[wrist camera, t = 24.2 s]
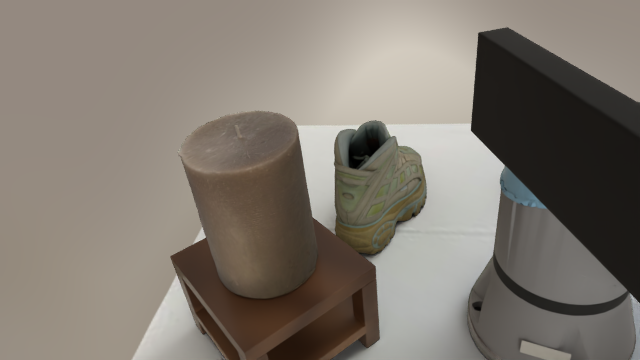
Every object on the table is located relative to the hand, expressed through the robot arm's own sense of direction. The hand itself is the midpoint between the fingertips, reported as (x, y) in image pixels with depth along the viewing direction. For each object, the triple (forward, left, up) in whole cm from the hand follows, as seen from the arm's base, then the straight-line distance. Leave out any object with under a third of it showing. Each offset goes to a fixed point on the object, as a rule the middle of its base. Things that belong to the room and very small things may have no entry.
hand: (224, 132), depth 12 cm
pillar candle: (-10, -23, -28) cm, 37 cm away
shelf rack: (-10, -23, -38) cm, 45 cm away
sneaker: (-32, -30, -38) cm, 58 cm away
